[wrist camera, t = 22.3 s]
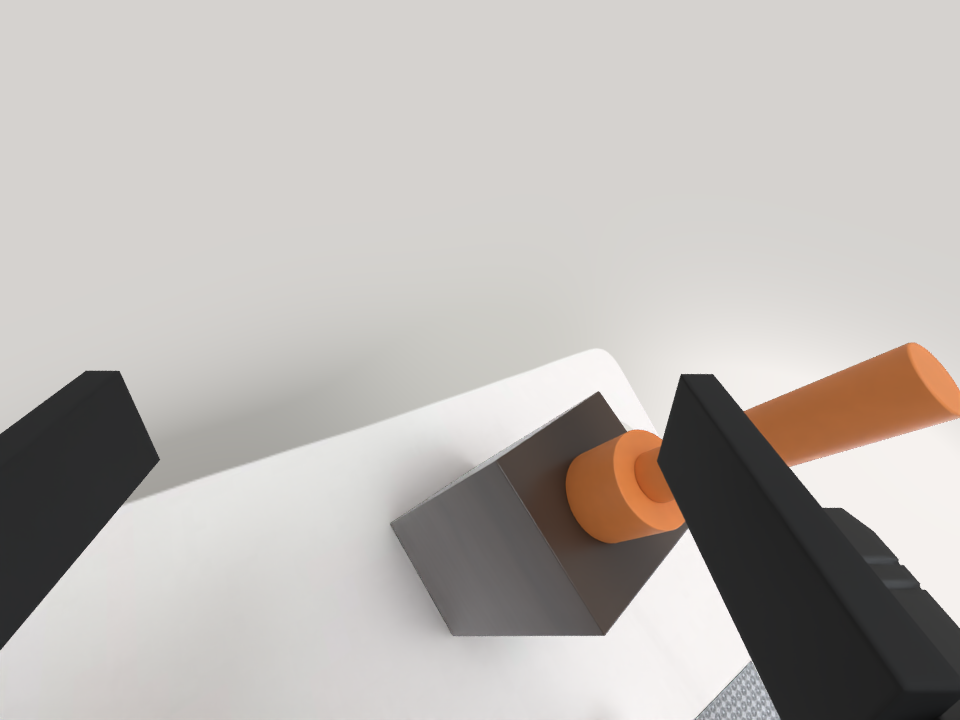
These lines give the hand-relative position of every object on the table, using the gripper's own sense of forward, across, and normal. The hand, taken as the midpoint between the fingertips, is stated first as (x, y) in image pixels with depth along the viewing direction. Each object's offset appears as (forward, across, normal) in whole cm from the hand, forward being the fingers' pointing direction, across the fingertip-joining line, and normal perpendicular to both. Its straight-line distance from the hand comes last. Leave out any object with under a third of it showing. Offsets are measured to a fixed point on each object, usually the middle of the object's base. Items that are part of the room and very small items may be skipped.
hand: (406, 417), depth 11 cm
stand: (+18, +1, -27) cm, 33 cm away
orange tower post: (+10, +9, -13) cm, 19 cm away
